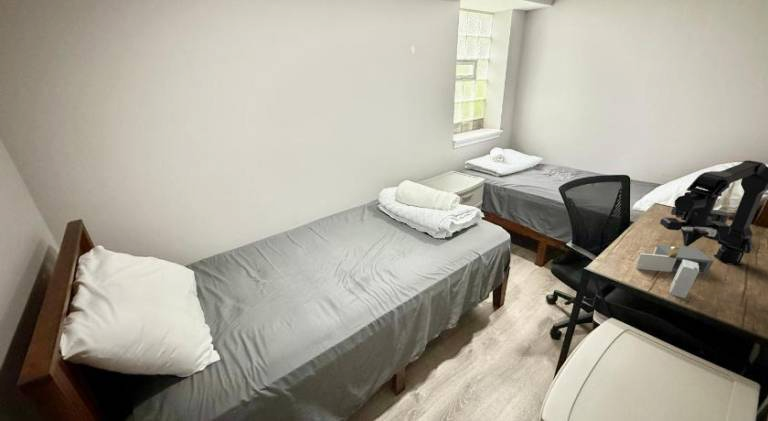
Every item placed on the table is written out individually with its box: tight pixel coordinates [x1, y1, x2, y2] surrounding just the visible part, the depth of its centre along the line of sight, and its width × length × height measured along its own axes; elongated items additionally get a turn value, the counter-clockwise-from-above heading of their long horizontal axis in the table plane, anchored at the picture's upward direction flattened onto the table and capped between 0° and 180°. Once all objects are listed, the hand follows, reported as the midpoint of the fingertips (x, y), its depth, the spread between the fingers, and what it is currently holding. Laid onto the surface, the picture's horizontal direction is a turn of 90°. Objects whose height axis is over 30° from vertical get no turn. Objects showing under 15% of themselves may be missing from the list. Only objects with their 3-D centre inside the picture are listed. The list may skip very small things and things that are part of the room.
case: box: [652, 243, 714, 276], centre depth 126 cm, size 14×10×6 cm
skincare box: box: [669, 259, 699, 299], centre depth 110 cm, size 6×4×12 cm
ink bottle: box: [704, 209, 731, 240], centre depth 148 cm, size 10×9×12 cm
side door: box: [635, 245, 680, 273], centre depth 123 cm, size 12×2×11 cm, turn 76°
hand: (685, 245), depth 118 cm, fingers closed
